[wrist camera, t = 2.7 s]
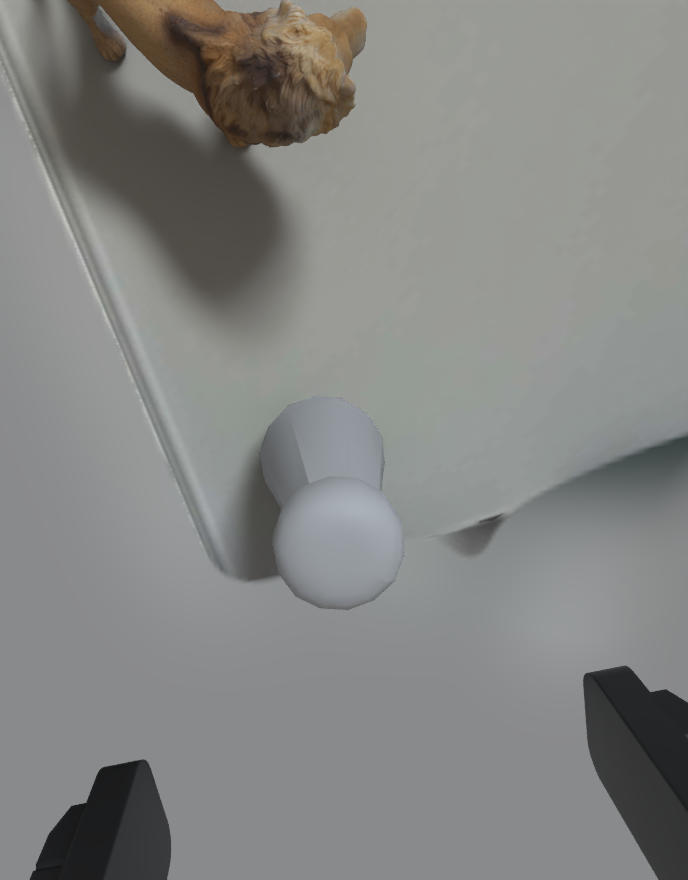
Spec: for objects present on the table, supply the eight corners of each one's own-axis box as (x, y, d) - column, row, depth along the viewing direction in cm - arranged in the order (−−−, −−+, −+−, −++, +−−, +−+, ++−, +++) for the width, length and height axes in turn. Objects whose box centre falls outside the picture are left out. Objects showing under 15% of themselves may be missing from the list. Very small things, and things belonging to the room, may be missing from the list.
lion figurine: (367, 79, 28) (403, 1, 19) (313, 195, 29) (324, 170, 20) (35, -118, 25) (-99, -314, 16) (-10, 20, 26) (-158, -96, 17)
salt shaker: (286, 511, 33) (285, 667, 21) (244, 411, 31) (215, 514, 19) (392, 472, 33) (456, 605, 20) (356, 369, 31) (400, 445, 19)
